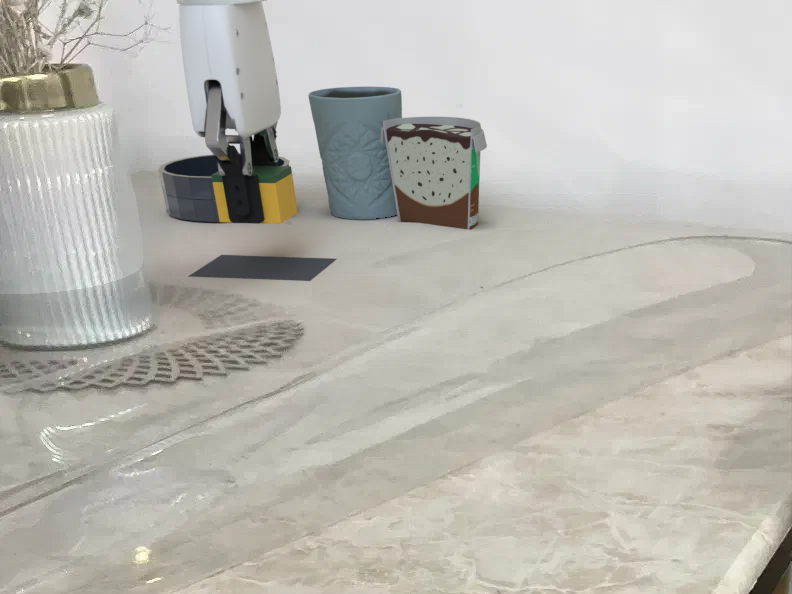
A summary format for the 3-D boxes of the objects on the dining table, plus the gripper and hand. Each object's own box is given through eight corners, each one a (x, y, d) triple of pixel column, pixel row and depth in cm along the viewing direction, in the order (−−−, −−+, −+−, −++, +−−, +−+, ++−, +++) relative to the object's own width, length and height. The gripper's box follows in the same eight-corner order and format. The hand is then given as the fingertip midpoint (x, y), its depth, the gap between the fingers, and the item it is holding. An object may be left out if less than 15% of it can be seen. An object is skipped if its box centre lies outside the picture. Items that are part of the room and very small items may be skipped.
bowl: (147, 225, 125) (136, 175, 122) (199, 198, 136) (191, 152, 133) (269, 229, 123) (262, 178, 120) (312, 201, 134) (306, 154, 131)
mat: (188, 281, 107) (187, 276, 106) (222, 259, 113) (221, 254, 113) (310, 286, 105) (310, 280, 105) (337, 263, 112) (337, 258, 111)
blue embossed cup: (362, 225, 124) (349, 100, 117) (304, 212, 130) (287, 92, 122) (429, 209, 131) (420, 89, 123) (370, 197, 136) (359, 82, 129)
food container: (512, 224, 124) (508, 121, 118) (480, 236, 120) (475, 129, 114) (421, 212, 129) (413, 112, 123) (388, 222, 125) (378, 120, 119)
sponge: (219, 222, 105) (210, 174, 102) (238, 211, 108) (230, 165, 106) (281, 223, 104) (274, 175, 102) (297, 212, 108) (291, 166, 105)
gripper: (217, -26, 102) (253, 195, 113) (131, -12, 89) (182, 237, 100) (296, -26, 101) (325, 197, 112) (222, -12, 88) (263, 239, 99)
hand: (257, 213), depth 106 cm, fingers closed on sponge, 4 cm apart
